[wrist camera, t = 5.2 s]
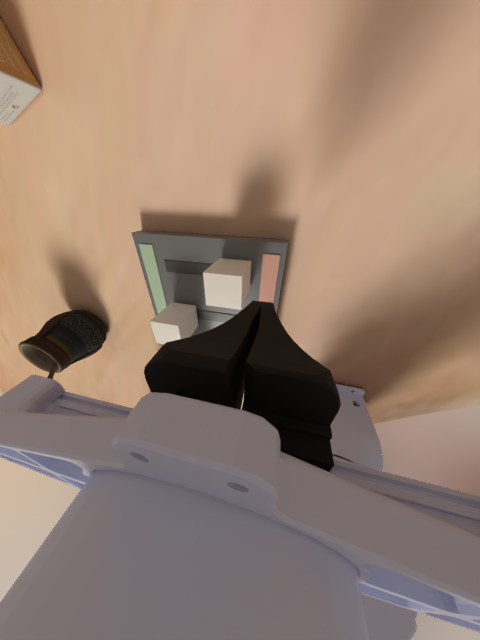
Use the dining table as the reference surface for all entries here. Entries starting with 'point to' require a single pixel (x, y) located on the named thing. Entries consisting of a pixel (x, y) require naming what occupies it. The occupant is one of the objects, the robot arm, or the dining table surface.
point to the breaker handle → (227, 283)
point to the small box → (14, 80)
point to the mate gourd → (64, 341)
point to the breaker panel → (194, 258)
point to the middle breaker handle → (174, 322)
